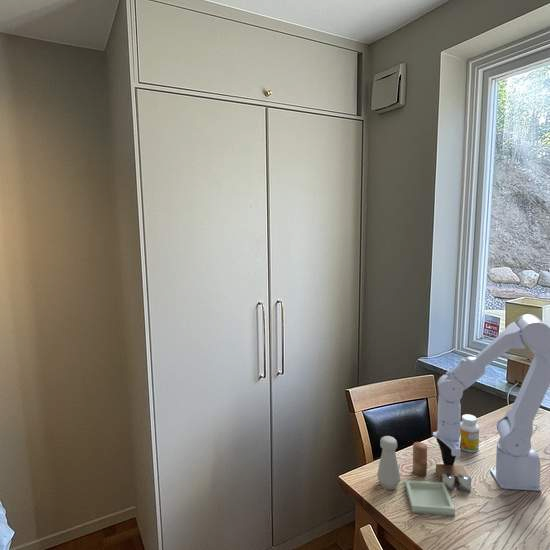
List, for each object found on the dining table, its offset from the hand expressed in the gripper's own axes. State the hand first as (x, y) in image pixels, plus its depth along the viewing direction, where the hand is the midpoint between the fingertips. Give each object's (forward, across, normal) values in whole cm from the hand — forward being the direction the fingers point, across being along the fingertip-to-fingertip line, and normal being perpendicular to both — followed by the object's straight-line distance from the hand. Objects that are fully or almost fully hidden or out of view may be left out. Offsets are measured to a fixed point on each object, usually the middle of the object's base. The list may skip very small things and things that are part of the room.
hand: (448, 465), depth 110 cm
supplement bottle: (+1, -12, +9) cm, 15 cm away
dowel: (+1, +2, -8) cm, 8 cm away
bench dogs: (+1, +8, 0) cm, 8 cm away
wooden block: (+2, +4, 0) cm, 4 cm away
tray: (+1, +13, -8) cm, 15 cm away
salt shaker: (+1, +8, -17) cm, 19 cm away
